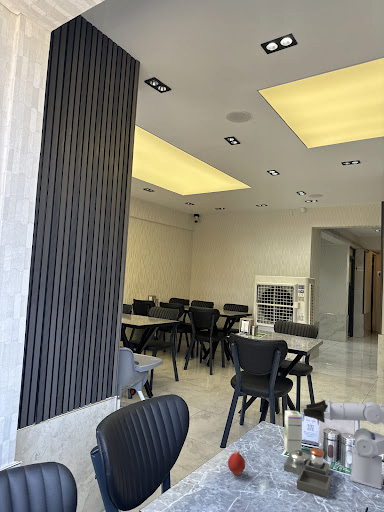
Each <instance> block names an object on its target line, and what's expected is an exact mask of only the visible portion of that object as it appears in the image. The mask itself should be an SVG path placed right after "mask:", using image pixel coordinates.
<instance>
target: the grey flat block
mask: <svg viewBox="0 0 384 512" xmlns="http://www.w3.org/2000/svg"><path fill="white" fill-rule="evenodd" d="M330 465H331V464H330V463H328V462H325V461H323V469H319V468H316V467H312V466H311V456H309V454H307V453H306V452H304V451H302V450H301V451H300V450H297V451H292V452H291V453H289V455H288V457H287V458H286V460H285V462H284V463H283V471H286V472H289V473H292V474H294V475H295V474H296V475H298V476H299V475H300V473H301V471H302V469H305V470H309V471H312V472H316V473H319V474H323V475H326V476H329V473H330V467H331V466H330Z"/></svg>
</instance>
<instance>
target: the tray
mask: <svg viewBox="0 0 384 512" xmlns="http://www.w3.org/2000/svg"><path fill="white" fill-rule="evenodd" d="M331 481H332V477H331V476H329V475H328V476H326V475H323V474H319V473H316V472H312V471H309V470H305V469H302V471H301V473H300V475H298V477H297V480H296V490H299V491H301V492H305V493H308V494H311V495H315V496H318V497H322V498H324V499H328V495H329V492H330V489H331V485H332V482H331Z"/></svg>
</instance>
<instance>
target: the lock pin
mask: <svg viewBox="0 0 384 512" xmlns="http://www.w3.org/2000/svg"><path fill="white" fill-rule="evenodd" d="M309 451H310V457H311V466H312V467H316V468H319V469H323V462H324V456H325V451H324V450H323V449H320V448H318V447H312V448H310V449H309Z"/></svg>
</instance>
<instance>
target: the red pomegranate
mask: <svg viewBox="0 0 384 512" xmlns="http://www.w3.org/2000/svg"><path fill="white" fill-rule="evenodd" d="M227 468H228V470H229V471H230V472H231V473H232V474H233V475H234V476H238V475H240V474H242V473H243V472H244V471H245V468H246V461H245V459H244V457H243V455H241V453H240V452H239V450H236V451H235V452H233V453H232V454H231V455H230V456H229V457H228V460H227Z"/></svg>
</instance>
